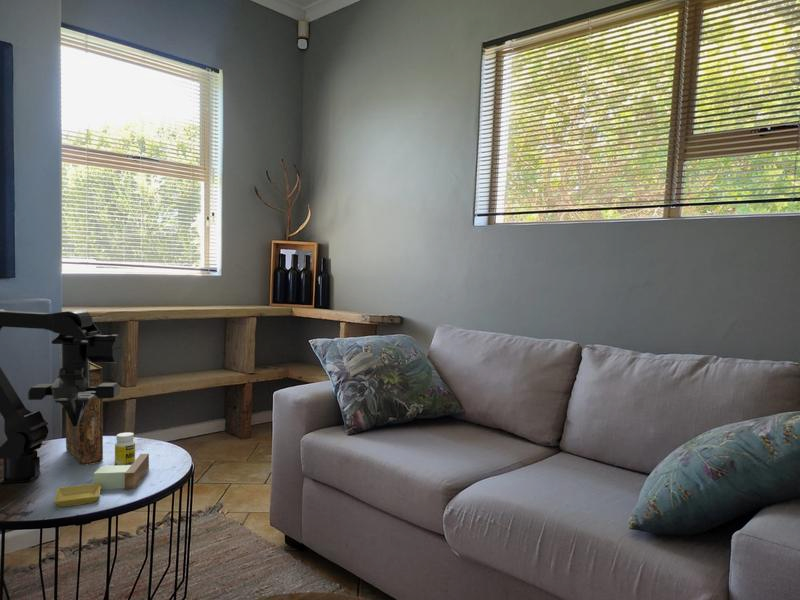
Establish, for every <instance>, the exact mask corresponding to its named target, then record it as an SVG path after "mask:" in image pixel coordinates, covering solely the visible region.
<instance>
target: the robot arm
mask: <svg viewBox="0 0 800 600" xmlns="http://www.w3.org/2000/svg"><path fill="white" fill-rule="evenodd" d="M3 328H21V329H22V328H23V329H37V330H39V329H41V330H47V331H49V332H52V333H55V334H58V335H57V337H56V338H54V339H53V340H52V341H51V344H52V345H61V367H60V368H59V372H58V375H57V376H58V377H57V378H56V379H55V381H54V382H53V383H38V384H36V385H33V386H32V387H30V388H29V390H28V392H27V400H29V401H30V400H31V401H37V400H38V401H39V400H40V401H41V400H43V399H44V398H46V396H52V399H53V400H54V403H58V404H60V405H61V406H62V407H63V409H64V410H65V412H66V411H67V413H68V416H69V418H70V420H71V423H72V425H73V427H77V426H78V425H79V422H80V420H81V417H82V415H83V413H84V410H85V408H86V406H87V404H88V403H89V401H90V400H92V399H93V398H95V395H94V394H96V396H97V397H98V398H103V399H115V397H118V395H120V394H121V386H120V384H119V383H118V382H103V383H102V384H100V385H98V386H97V387H89V385H90V381H89V369H90V364H89V362H92V363H94V364H95V363H96V364H98V363H102V364H103V363H104V364H106V363H107V364H119V363H120V362H121V361H122V358H123V356H124V347H123V343H122V341H121V339H120V336H119V334H110V335H109V334H108V335H105V334H103V333H102V332H101V331H100V330H99V328H98V327H97V325H96V324H95V323H94V322H93V316H91V313H89V311H87V310H84V309H77V310H76V309H75V310H68V311H59V312H38V311H37V312H36V311H21V310H19V311H18V310H6V309H2V308H1V309H0V332H1V331H2V329H3ZM89 360H90V361H89ZM77 395H78V399H77ZM0 415H1V417H2V418H3V422H4V424H3V425H4V426H3V427H4V430H3V432H4V433H3V434H4V436H5V438H6V441H5V442H4V443H3V444H1V445H0V460H2V464H3V465H2V468H3V469H2V470H3V477H2V479H0V484H10V483H11V484H13V483H29V482H31V481H32V480H33V479H35V478H36V477H38V476H39V475H40V474H42V473H41V468H40V467H41V466H40V465H41V464H40V462H41V461H40V460H41V459H40V456H38V449H41V448H42V444H43V442H44V441H46V439H47V438H48V435H49V427H48V425H49V423H48V422H47V421H46V420H45V419H44V417H43V414H42V412H41V411H40V410H37V411H34V412H33V411H31V410H28V409H27V407H25V405H24V403H23V402H22V400H21V398H20V396H19V395H18V394H17V392H16V390H15V389H14V386H12V384H11V382H10V381H9V379H8V378H7V376H6V375H5V373H4V371H3V369H2V367H0Z"/></svg>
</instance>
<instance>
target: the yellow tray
mask: <svg viewBox="0 0 800 600" xmlns="http://www.w3.org/2000/svg"><path fill="white" fill-rule="evenodd" d="M100 487H101V483H95V484H94V483H90V484H89V483H88V484H87V483H86V484H79V485H73V486H72V485H70V486H63V487H58V488H57V490H56V494H55V496H54V500H53V502H54V503H55V504H56V505H57V506H59V507H60V508H63V507H71V506H78V505H84V504H85V505H86V504H91V503H96V501H97V500H98V499H99V498H100V495H101V489H100Z"/></svg>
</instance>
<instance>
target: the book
mask: <svg viewBox="0 0 800 600" xmlns="http://www.w3.org/2000/svg"><path fill="white" fill-rule="evenodd" d="M89 364H90V369H89V381H90V385H89V387H97V386H98V385H100V384H102V383H104V382H103V379H104V378H103V372H104V370H103V367H102V366H100V365H97V363H96V364H95V363H93V362H92V361H89ZM94 395H95V398H93V399H92V400H90V401H89V403H88V404H87V406H86V408H85V410H84V413H83V415H82V417H81V420H80V422H79V425H78V426H77V427H73V425H72V423H71V420H70V418H69V416H68V413H67V411H66V410H65V448H66V451H67V453H68V454H69V455H70V456H71V457H72V458H73V459H74V460H75V461H76V462H77V463H78V464H79V465H80V466H85V465H86V464H88V465H93V463H94V464H98V463H101V462H103V461H102V460H104V452H103V451H104V449H103V448H104V443H103V442H104V438H103V437H104V435H103V434H104V430H103V429H104V426H103V423H104V422H103V421H104V420H103V419H104V416H103V412H104V411H103V410H104V409H103V407H104V405H103V404H104V401H103V399H104V398H98V397H97V396H96V394H94ZM77 399H78V395H77ZM100 461H101V462H100ZM97 462H98V463H97Z"/></svg>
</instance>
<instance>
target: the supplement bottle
mask: <svg viewBox="0 0 800 600" xmlns="http://www.w3.org/2000/svg"><path fill="white" fill-rule="evenodd" d="M134 435H135V433H134V432H119V433H118V434H116V442H115V443H114V466H115V465H132V464H133V463H134V461H135V460H136V441H135V439H134V438H135V437H134Z"/></svg>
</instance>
